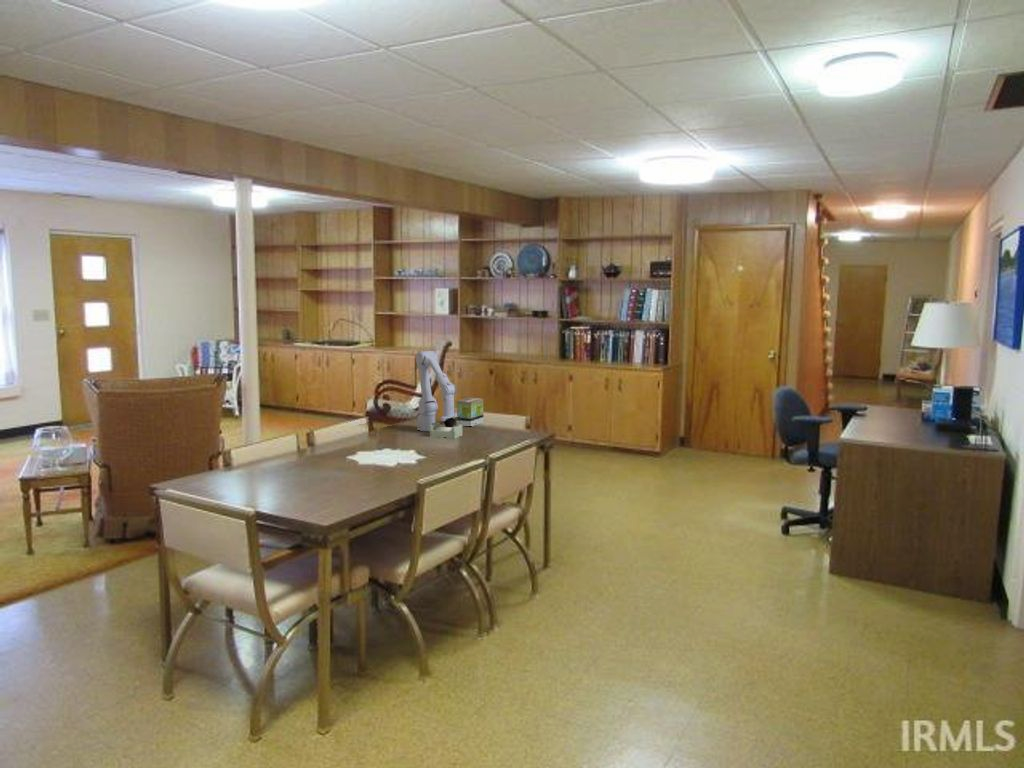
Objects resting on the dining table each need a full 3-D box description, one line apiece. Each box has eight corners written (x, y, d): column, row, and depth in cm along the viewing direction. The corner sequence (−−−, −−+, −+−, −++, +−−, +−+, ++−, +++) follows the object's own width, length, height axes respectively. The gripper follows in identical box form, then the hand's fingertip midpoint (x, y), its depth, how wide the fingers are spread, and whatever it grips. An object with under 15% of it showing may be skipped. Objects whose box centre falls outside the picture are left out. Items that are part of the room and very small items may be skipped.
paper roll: (437, 424, 387) (440, 431, 390) (434, 430, 383) (436, 437, 386) (455, 425, 383) (457, 432, 386) (452, 432, 380) (454, 439, 382)
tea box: (471, 427, 408) (471, 401, 406) (456, 426, 413) (455, 400, 411) (484, 423, 422) (483, 397, 420) (469, 421, 426) (468, 396, 424)
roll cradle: (429, 436, 384) (429, 424, 383) (438, 433, 392) (437, 421, 391) (454, 438, 378) (454, 426, 377) (462, 435, 386) (462, 423, 385)
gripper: (448, 409, 378) (449, 435, 380) (461, 405, 391) (462, 430, 393) (437, 409, 381) (437, 434, 383) (450, 404, 394) (450, 429, 396)
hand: (449, 432), depth 388 cm, fingers closed
